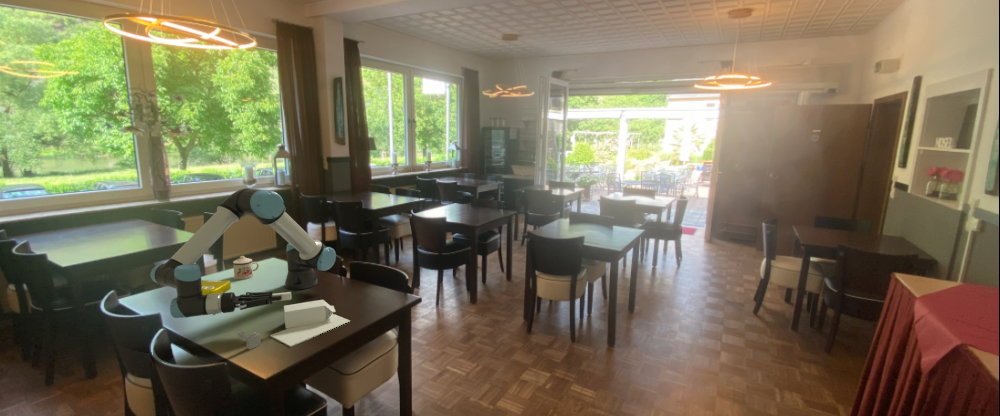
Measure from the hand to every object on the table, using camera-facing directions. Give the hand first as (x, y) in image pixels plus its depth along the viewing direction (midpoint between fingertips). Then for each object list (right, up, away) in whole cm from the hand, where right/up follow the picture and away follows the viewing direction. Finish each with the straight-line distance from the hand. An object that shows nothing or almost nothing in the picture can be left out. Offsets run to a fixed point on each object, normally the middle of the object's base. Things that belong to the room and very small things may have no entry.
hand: (290, 295), depth 166 cm
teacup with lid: (-54, -2, +59) cm, 80 cm away
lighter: (-7, -16, -16) cm, 24 cm away
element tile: (-58, -7, +35) cm, 68 cm away
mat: (+6, -13, +2) cm, 14 cm away
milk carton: (-3, -9, +1) cm, 9 cm away
